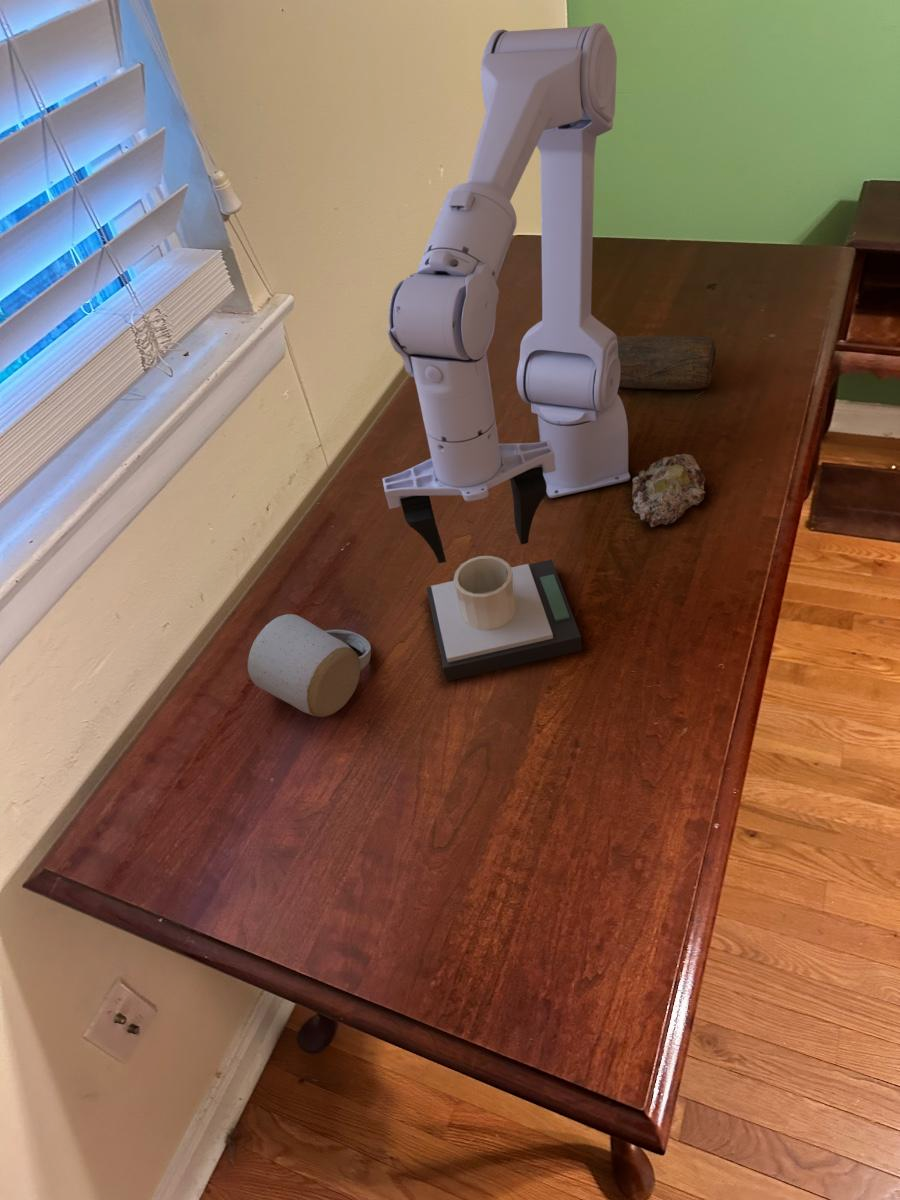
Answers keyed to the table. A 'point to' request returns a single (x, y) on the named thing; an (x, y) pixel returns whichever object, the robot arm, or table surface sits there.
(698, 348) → the wooden log
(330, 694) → the ceramic mug
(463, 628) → the scale
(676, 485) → the mineral rock
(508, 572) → the cream cup
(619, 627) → the table surface
